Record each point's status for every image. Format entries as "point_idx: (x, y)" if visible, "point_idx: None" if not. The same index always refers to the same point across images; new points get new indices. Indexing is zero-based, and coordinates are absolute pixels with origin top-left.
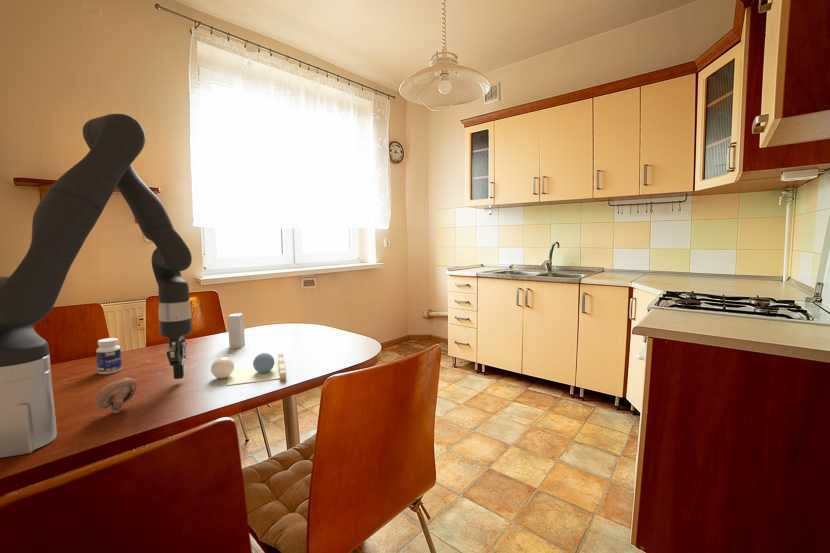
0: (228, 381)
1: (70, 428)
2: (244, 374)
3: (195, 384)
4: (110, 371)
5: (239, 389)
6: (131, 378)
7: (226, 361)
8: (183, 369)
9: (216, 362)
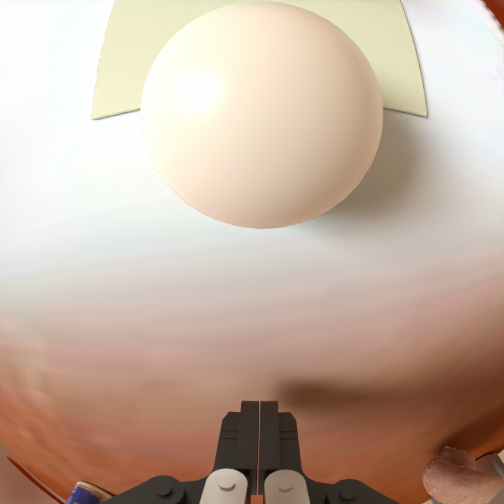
0: None
1: None
2: None
3: (329, 308)
4: None
5: (471, 73)
6: (490, 493)
7: (337, 32)
8: (247, 435)
9: (344, 152)
